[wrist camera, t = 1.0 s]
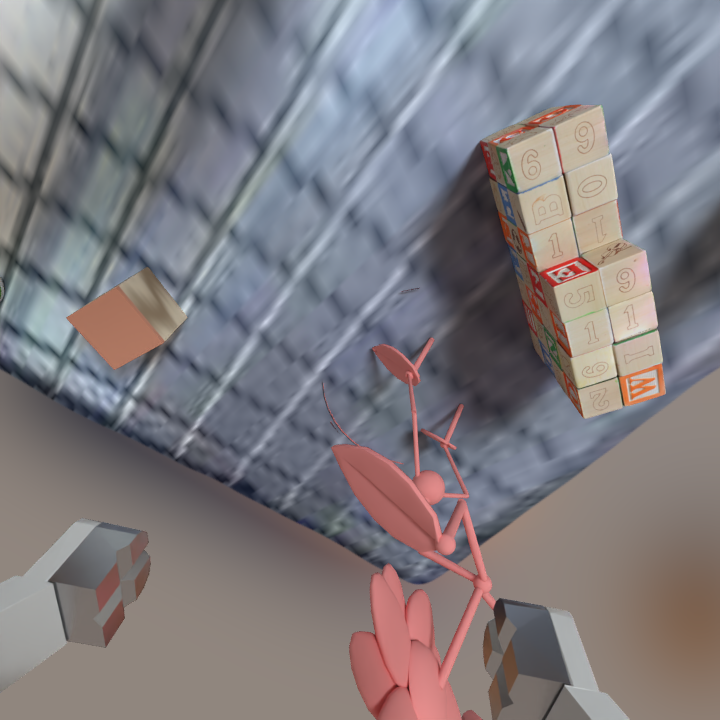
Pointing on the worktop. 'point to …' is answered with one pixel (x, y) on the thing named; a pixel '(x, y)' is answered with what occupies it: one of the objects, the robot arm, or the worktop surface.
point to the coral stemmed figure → (389, 612)
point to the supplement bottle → (1, 289)
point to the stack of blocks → (576, 258)
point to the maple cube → (129, 319)
